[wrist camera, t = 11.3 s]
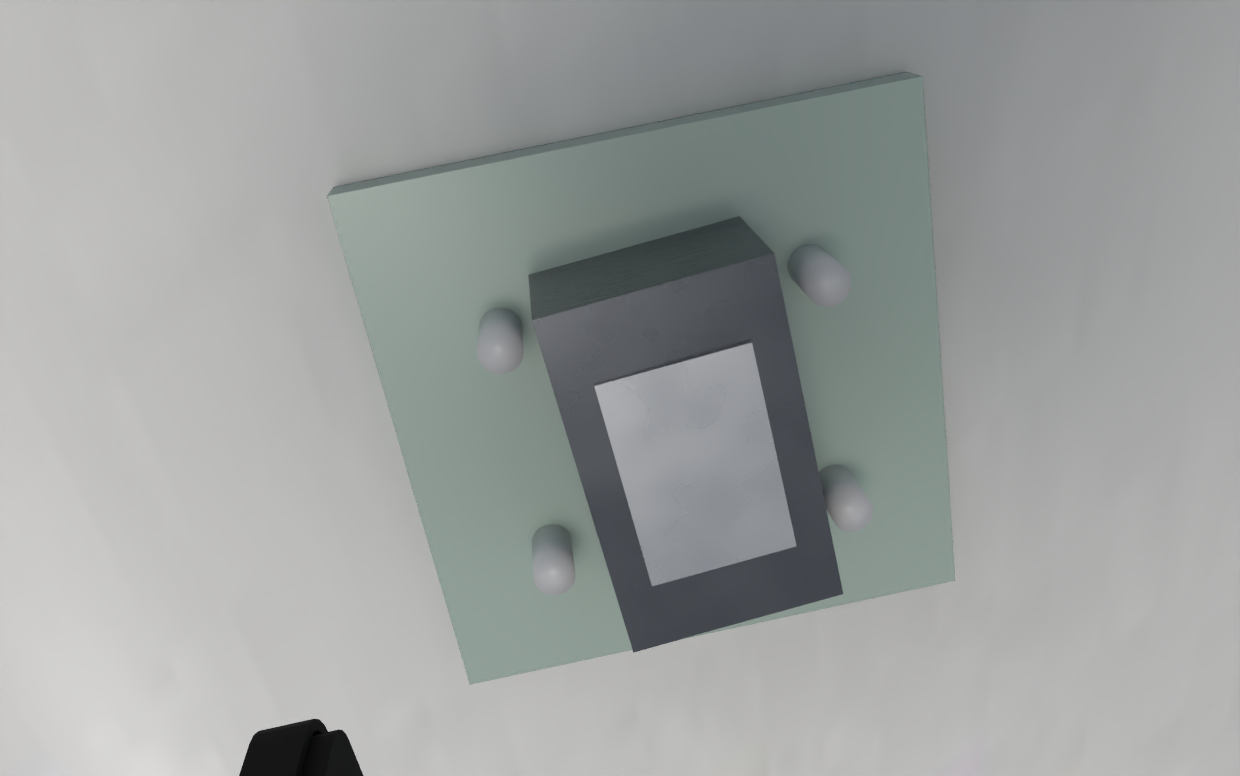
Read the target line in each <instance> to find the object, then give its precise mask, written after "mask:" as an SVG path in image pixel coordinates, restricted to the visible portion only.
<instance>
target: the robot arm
mask: <svg viewBox="0 0 1240 776" xmlns="http://www.w3.org/2000/svg"><path fill="white" fill-rule="evenodd" d="M239 776H363V774H362V771H361V769H360V766H359V764H358V761H357V759H356V756H355V754H354V751H353V749H352V747H351V744H350V742H349V739H348V737H347V735H346V734H345V733H344V732H343V731H342V730H335V731H331V732H328V731H327V729H326V727H325V725H324V724H323V723H322V722H321V721H320V720H319V719H311V720H307V721H302V722H298V723H293V724H289V725H284V726H280V727H275V728H271V729H266V730H261V731H258V732H257V733H256V734H255V735H254V736H253V738H252V740H251V742H250V744H249V747H248V750H247V753H246V756H245V760H244V763H243V766H242V769H241V772H240V775H239Z"/></svg>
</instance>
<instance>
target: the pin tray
mask: <svg viewBox="0 0 1240 776" xmlns="http://www.w3.org/2000/svg"><path fill="white" fill-rule="evenodd" d="M327 199H328V202H329V205H330V209H331V212H332V216H333V219H334V222H335V226H336V229H337V233H338V236H339V240H340V243H341V246H342V250H343V253H344V257H345V260H346V263H347V267H348V270H349V274H350V277H351V280H352V284H353V287H354V291H355V294H356V298H357V301H358V304H359V308H360V311H361V315H362V318H363V321H364V325H365V328H366V332H367V335H368V338H369V342H370V345H371V349H372V352H373V356H374V359H375V362H376V366H377V369H378V373H379V376H380V379H381V383H382V386H383V390H384V393H385V397H386V400H387V403H388V407H389V410H390V414H391V417H392V420H393V424H394V427H395V431H396V434H397V437H398V441H399V444H400V448H401V451H402V455H403V458H404V461H405V465H406V468H407V472H408V475H409V478H410V482H411V485H412V489H413V492H414V495H415V499H416V502H417V506H418V509H419V513H420V516H421V519H422V523H423V526H424V530H425V533H426V536H427V540H428V543H429V547H430V550H431V553H432V557H433V560H434V564H435V567H436V571H437V574H438V577H439V581H440V584H441V588H442V591H443V594H444V598H445V601H446V605H447V608H448V612H449V615H450V618H451V622H452V625H453V629H454V632H455V635H456V639H457V642H458V646H459V649H460V652H461V656H462V659H463V663H464V666H465V670H466V673H467V676H468V680H469V683H470V684H475V683H480V682H484V681H489V680H494V679H498V678H503V677H508V676H512V675H517V674H522V673H526V672H531V671H536V670H540V669H545V668H550V667H554V666H559V665H563V664H568V663H573V662H577V661H582V660H587V659H591V658H596V657H601V656H605V655H610V654H615V653H619V652H624V651H629V650H633V649H632V646H631V643H630V640H629V636H628V633H627V630H626V627H625V623H624V620H623V617H622V614H621V610H620V607H619V604H618V600H617V597H616V594H615V591H614V587H613V584H612V581H611V578H610V574H609V571H608V568H607V565H606V561H605V558H604V555H603V551H602V548H601V545H600V542H599V538H598V535H597V532H596V529H595V525H594V522H593V519H592V516H591V512H590V509H589V506H588V502H587V499H586V496H585V493H584V489H583V486H582V483H581V480H580V476H579V473H578V470H577V467H576V463H575V460H574V457H573V453H572V450H571V447H570V444H569V440H568V437H567V434H566V431H565V427H564V424H563V421H562V418H561V414H560V411H559V408H558V404H557V401H556V398H555V395H554V391H553V388H552V385H551V382H550V378H549V375H548V372H547V369H546V365H545V362H544V359H543V355H542V352H541V349H540V346H539V342H538V339H537V336H536V333H535V329H534V326H533V323H532V317H531V304H530V291H529V279H528V275H529V274H533V273H536V272H540V271H544V270H547V269H551V268H554V267H558V266H562V265H565V264H569V263H572V262H576V261H580V260H583V259H587V258H590V257H594V256H598V255H601V254H605V253H608V252H612V251H616V250H619V249H623V248H626V247H630V246H634V245H637V244H641V243H644V242H648V241H652V240H655V239H659V238H662V237H666V236H670V235H673V234H677V233H680V232H684V231H688V230H691V229H695V228H698V227H702V226H706V225H709V224H713V223H716V222H720V221H724V220H727V219H731V218H734V217H738V216H740V217H741V218H742V219H743V220H744V221H745V222H746V224H747V225H748V226H749V227H750V228H751V229H752V230H753V231H754V232H755V233H756V234H757V235H758V236H759V237H760V238H761V239H762V240H763V242H764V243H765V244H766V245H767V246H768V247H769V248H770V249H771V250H772V251H773V252H774V253H775V258H776V263H777V268H778V273H779V278H780V283H781V288H782V293H783V298H784V303H785V308H786V313H787V318H788V323H789V328H790V332H791V337H792V342H793V347H794V352H795V357H796V362H797V367H798V372H799V377H800V382H801V387H802V392H803V397H804V402H805V407H806V412H807V416H808V421H809V426H810V431H811V436H812V441H813V446H814V451H815V456H816V461H817V466H818V471H819V476H820V481H821V486H822V491H823V496H824V500H825V505H826V510H827V515H828V520H829V525H830V530H831V535H832V540H833V545H834V550H835V555H836V560H837V565H838V570H839V575H840V580H841V585H842V589H843V594H842V595H838V596H835V597H831V598H828V599H824V600H820V601H817V602H813V603H810V604H806V605H802V606H799V607H795V608H792V609H788V610H784V611H781V612H777V613H774V614H770V615H766V616H763V617H759V618H756V619H752V620H748V621H745V622H741V623H738V624H734V625H730V626H727V627H723V628H719V629H716V630H712V631H709V632H705V633H701V634H698V635H703V634H708V633H712V632H717V631H722V630H726V629H731V628H736V627H740V626H745V625H750V624H754V623H759V622H764V621H768V620H773V619H778V618H782V617H787V616H792V615H796V614H801V613H806V612H810V611H815V610H820V609H824V608H829V607H834V606H838V605H843V604H847V603H852V602H857V601H861V600H866V599H871V598H875V597H880V596H885V595H889V594H894V593H899V592H903V591H908V590H913V589H917V588H922V587H927V586H931V585H936V584H941V583H945V582H950V581H955V570H954V555H953V539H952V524H951V508H950V493H949V478H948V462H947V447H946V431H945V416H944V400H943V385H942V370H941V354H940V339H939V323H938V308H937V292H936V277H935V262H934V246H933V231H932V215H931V200H930V184H929V169H928V154H927V138H926V123H925V107H924V92H923V76H919V75H916V74H912V73H908V72H904V73H899V74H895V75H890V76H885V77H880V78H875V79H870V80H865V81H860V82H855V83H850V84H845V85H840V86H835V87H830V88H825V89H820V90H815V91H810V92H805V93H800V94H795V95H790V96H785V97H780V98H775V99H770V100H765V101H760V102H755V103H750V104H745V105H740V106H735V107H730V108H726V109H721V110H716V111H711V112H706V113H701V114H696V115H691V116H686V117H681V118H676V119H671V120H666V121H661V122H656V123H651V124H646V125H641V126H636V127H631V128H626V129H621V130H616V131H611V132H606V133H601V134H596V135H591V136H586V137H581V138H576V139H571V140H566V141H562V142H557V143H552V144H547V145H542V146H537V147H532V148H527V149H522V150H517V151H512V152H507V153H502V154H497V155H492V156H487V157H482V158H477V159H472V160H467V161H462V162H457V163H452V164H447V165H442V166H437V167H432V168H427V169H422V170H417V171H412V172H407V173H402V174H397V175H393V176H388V177H383V178H378V179H373V180H368V181H363V182H358V183H353V184H348V185H343V186H338V187H334V188H333V189H332V190H331V192H330V193H329V194H328V195H327ZM698 635H694V636H698ZM694 636H691V637H694ZM687 638H689V637H687ZM683 639H685V638H683Z"/></svg>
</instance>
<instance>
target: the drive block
mask: <svg viewBox="0 0 1240 776" xmlns="http://www.w3.org/2000/svg"><path fill="white" fill-rule="evenodd" d="M528 279H529V291H530V304H531V317H532V323H533V326H534V329H535V333H536V336H537V339H538V342H539V346H540V349H541V352H542V355H543V359H544V362H545V365H546V369H547V372H548V375H549V378H550V382H551V385H552V388H553V391H554V395H555V398H556V401H557V404H558V408H559V411H560V414H561V418H562V421H563V424H564V427H565V431H566V434H567V437H568V440H569V444H570V447H571V450H572V453H573V457H574V460H575V463H576V467H577V470H578V473H579V476H580V480H581V483H582V486H583V489H584V493H585V496H586V499H587V502H588V506H589V509H590V512H591V516H592V519H593V522H594V525H595V529H596V532H597V535H598V538H599V542H600V545H601V548H602V551H603V555H604V558H605V561H606V565H607V568H608V571H609V574H610V578H611V581H612V584H613V587H614V591H615V594H616V597H617V600H618V604H619V607H620V610H621V614H622V617H623V620H624V623H625V627H626V630H627V633H628V636H629V640H630V643H631V646H632V649H633V652H637V651H640V650H644V649H647V648H651V647H655V646H658V645H662V644H665V643H669V642H673V641H676V640H680V639H683V638H687V637H691V636H694V635H698V634H701V633H705V632H709V631H712V630H716V629H719V628H723V627H727V626H730V625H734V624H738V623H741V622H745V621H748V620H752V619H756V618H759V617H763V616H766V615H770V614H774V613H777V612H781V611H784V610H788V609H792V608H795V607H799V606H802V605H806V604H810V603H813V602H817V601H820V600H824V599H828V598H831V597H835V596H838V595H842V594H843V589H842V585H841V580H840V575H839V570H838V565H837V560H836V555H835V550H834V545H833V540H832V535H831V530H830V525H829V520H828V515H827V510H826V505H825V500H824V496H823V491H822V486H821V481H820V476H819V471H818V466H817V461H816V456H815V451H814V446H813V441H812V436H811V431H810V426H809V421H808V416H807V412H806V407H805V402H804V397H803V392H802V387H801V382H800V377H799V372H798V367H797V362H796V357H795V352H794V347H793V342H792V337H791V332H790V328H789V323H788V318H787V313H786V308H785V303H784V298H783V293H782V288H781V283H780V278H779V273H778V268H777V263H776V258H775V253H774V252H773V251H772V250H771V249H770V248H769V247H768V246H767V245H766V244H765V243H764V242H763V240H762V239H761V238H760V237H759V236H758V235H757V234H756V233H755V232H754V231H753V230H752V229H751V228H750V227H749V226H748V225H747V224H746V222H745V221H744V220H743V219H742V218H741V217H740V216H738V217H734V218H731V219H727V220H724V221H720V222H716V223H713V224H709V225H706V226H702V227H698V228H695V229H691V230H688V231H684V232H680V233H677V234H673V235H670V236H666V237H662V238H659V239H655V240H652V241H648V242H644V243H641V244H637V245H634V246H630V247H626V248H623V249H619V250H616V251H612V252H608V253H605V254H601V255H598V256H594V257H590V258H587V259H583V260H580V261H576V262H572V263H569V264H565V265H562V266H558V267H554V268H551V269H547V270H544V271H540V272H536V273H533V274H529V275H528Z"/></svg>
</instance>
